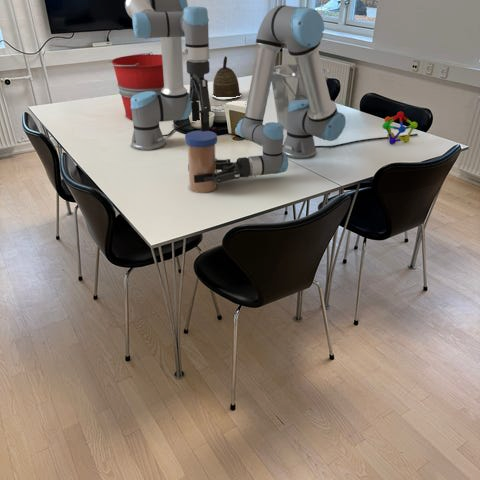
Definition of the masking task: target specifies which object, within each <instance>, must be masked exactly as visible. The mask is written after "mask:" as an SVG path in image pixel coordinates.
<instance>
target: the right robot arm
mask: <svg viewBox="0 0 480 480" xmlns="http://www.w3.org/2000/svg"><path fill="white" fill-rule="evenodd" d="M324 31H325V22H324V19H323V17H322V14H321V13H320V12H319V11H318V10H317V9H315V8H311V7H308V6H293V5H292V6H291V5H284V4H280V5H277V6H275V7H273V8H271V9H270V10H269V11H268V12H267V13H266V14H265V16H264V17H263V19H262V21H261V23H260V26H259V28H258V30H257V35H256V40H255V45H256V48H257V49H256V54H255V59H254V64H253V70H252V75H251V81H250V86H249V91H248V96H247V100H246V103H247V104H246V106H245V112H244V118H241V119H240V120H239V121H238V123H237V125H236V133H237V134H238V136H240V137H241V138H243V139H244V140H247V141H248V142H249V141H250V142H252V143H254V144H257V145H259V146H262V155H252V156H248V157H247V156H243V157H238V158H237V159H236V161H235V162H234V161H231V159H230V158H227V159H226V158H225V159H217V160H216V171H217V170H218V172H216V173H210V174H201V175H194V183H199V182H207V181H213V182H216V184H220V183H224V182H229V181H233V180H239V179H241V178H242V179H243V178H249V177H255V178H256V177H258V176H265V175H277V174H282V173H285V172H287V170H288V168H289V158H291V159H297V160H298V159H299V160H302V159H310V158H313V157H314V156H316V154H317V149H331V148H337V147H342V146H347V145H351V144H357V143H362V142H363V143H364V142H369V141H370V142H371V141H378V140H379V141H380V140H390V139H389V138H388V136H381V137H372V138H364V139H357V140H352V141H348V142H342V143H338V144H333V145H316V143H315V138H314V137H316V138H318V139H321V140H323V141H328V142H333V141H336V140H337V139H338V138H340V136H341V135H342V133H343V132H344V129H345V128H346V123H347V122H346V120H347V119H346V116H345V115H344V113H342V112H339V111H338V108H337V104H336V102H335V101H334V100H332V99H331V96H330V92H329V88H328V85H327V81H326V79H325V75H324V71H323V67H324V66H323V63H322V60H321V56H320V55H321V54H320V52H319V48H320V46H321V43H322V40H323V37H324V33H323V32H324ZM284 43H285V45H286V47H287V48H286V49H287V51H288V54H289V55H290V56H292V57H294V60H295V64H297V67H298V70H299V73H300V77H301V80H302V84H303V87H304V90H305V94H306V97H307V100H296V101H292V102H291V103H290V104H289V108H288V120H287V129H286V136H284V128H283V126H282V124H280V123H278V122H275V121H270V122H265V123H264V118H265V114H266V109H267V108H266V107H267V105H268V99H269V95H270V91H271V90H270V89H271V86H272V82H271V81H272V76H273V71H274V66H276V61H277V56H278V52H279V51H281V49H282V46H283V44H284ZM407 135H408V134H404V135H399V136H400V137H404V136H407ZM418 135H419V134H418V133H411V134H410V136H409V137H417V136H418ZM284 137H285V139H284ZM393 138H394V137H393ZM187 168H188V169H187V171H188V172H189V163H187ZM212 174H213V176H212Z"/></svg>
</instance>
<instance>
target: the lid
mask: <svg viewBox="0 0 480 480" xmlns="http://www.w3.org/2000/svg"><path fill="white" fill-rule="evenodd" d="M184 140H185V141H184V142H185V144H186V145H189V146H192V147H209V146H212V145H215V146H216V144H217V143H218V135H217V133H216V132H214V131H211V130H209V131H203V132H202V131H201V129H200V130H192V131H189V132H187V133H186V134H184Z"/></svg>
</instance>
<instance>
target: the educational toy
mask: <svg viewBox="0 0 480 480" xmlns="http://www.w3.org/2000/svg"><path fill="white" fill-rule="evenodd" d="M397 119H399V124H400V125H399V127H398V126H393V125H391V124H392V123H394V122H395V121H396V120H397ZM403 120H404V121H405V122H407V123H408V124H409V125H407V126H404V123H403ZM417 127H418V122H417V121H411V120H410V119H409V118H408V117H406V116H405V113H404V112H403V111H401V110H400V111H398V112H397V114H396V115H394V116H391V117H390V116H386V117H385V118H384V122H383V123H382V129H383V130H386V132H387V137H388V138H389V139H388V142H389V145H395V144H396V143H397V142H402V141H403V142H404V143H409V142H410V140H411V138H410V137H411V136H410V135H411V134H412V132H413V131H414V130H415V129H417ZM392 129H393V130H397V131H398V132H396V134H395V133H394V132H392ZM408 129H409V131H408V133H407V134H406V135H407V136H404V137H400V136H401V134H403V133H405V132H406V130H408ZM409 136H410V137H409ZM393 137H394V138H393Z"/></svg>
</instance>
